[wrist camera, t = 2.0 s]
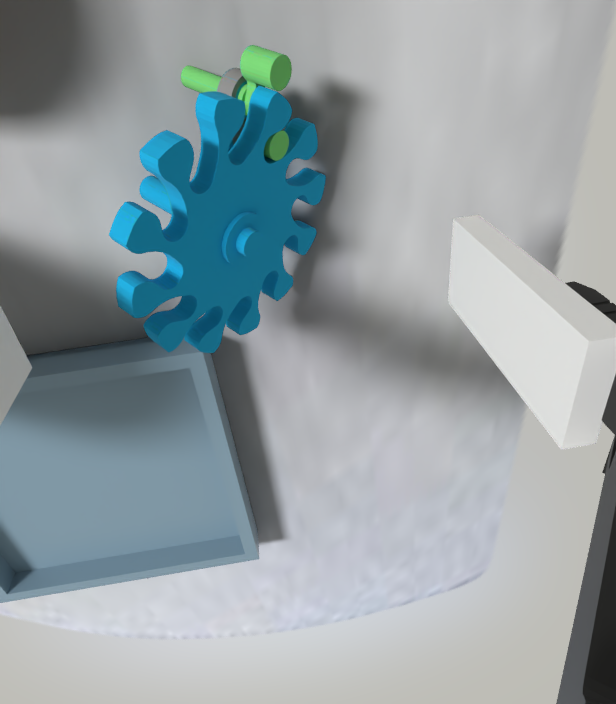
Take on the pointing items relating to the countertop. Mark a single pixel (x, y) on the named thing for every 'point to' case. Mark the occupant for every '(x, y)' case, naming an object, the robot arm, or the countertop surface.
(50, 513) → the tray
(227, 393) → the countertop surface
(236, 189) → the gear
